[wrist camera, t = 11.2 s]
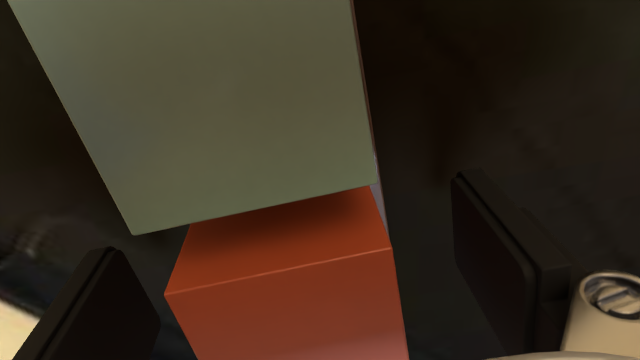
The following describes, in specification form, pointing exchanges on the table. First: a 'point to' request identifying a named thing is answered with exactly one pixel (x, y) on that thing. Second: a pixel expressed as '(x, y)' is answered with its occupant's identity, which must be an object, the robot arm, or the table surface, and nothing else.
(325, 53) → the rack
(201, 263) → the coral pink cube
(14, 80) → the table surface
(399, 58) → the table surface
